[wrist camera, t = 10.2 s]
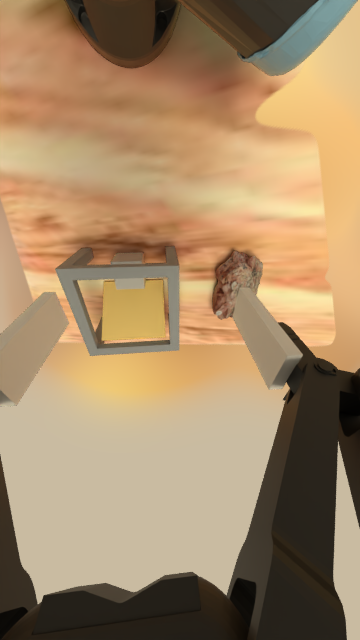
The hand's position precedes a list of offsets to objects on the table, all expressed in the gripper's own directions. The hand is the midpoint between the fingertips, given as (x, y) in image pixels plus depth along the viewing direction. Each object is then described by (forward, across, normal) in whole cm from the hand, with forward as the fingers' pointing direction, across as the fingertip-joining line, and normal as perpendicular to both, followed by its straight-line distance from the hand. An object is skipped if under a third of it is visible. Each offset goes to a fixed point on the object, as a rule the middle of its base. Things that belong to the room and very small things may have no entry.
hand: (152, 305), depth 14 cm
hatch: (+25, -6, -17) cm, 31 cm away
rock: (+31, +18, -13) cm, 38 cm away
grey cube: (+28, -7, -12) cm, 31 cm away
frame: (+30, -7, -14) cm, 34 cm away
